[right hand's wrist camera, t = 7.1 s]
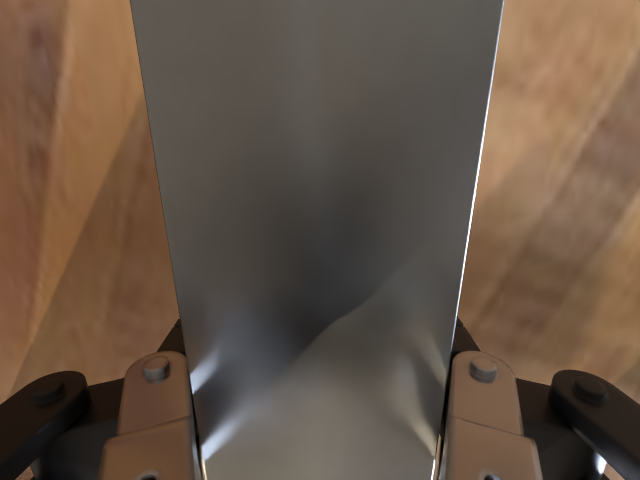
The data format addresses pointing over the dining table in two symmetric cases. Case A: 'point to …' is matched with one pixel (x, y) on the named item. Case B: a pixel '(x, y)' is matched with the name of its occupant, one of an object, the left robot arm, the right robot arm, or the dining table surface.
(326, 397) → the bar
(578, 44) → the dining table surface
